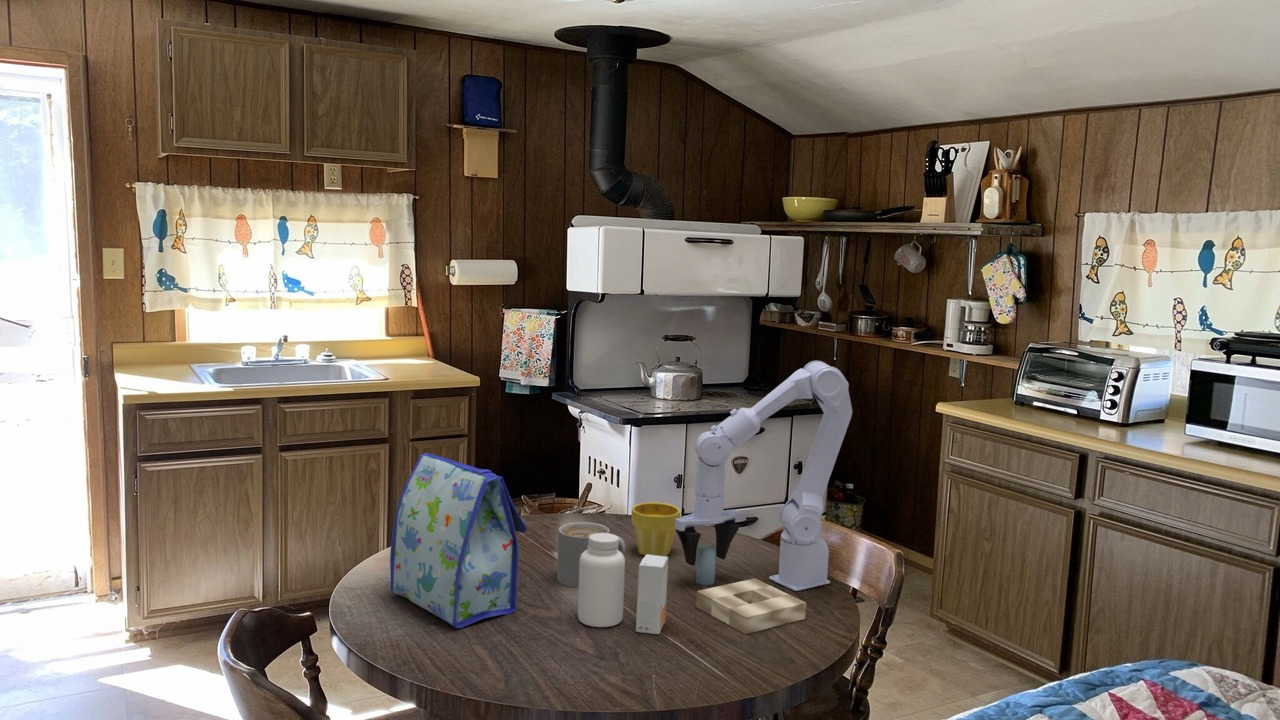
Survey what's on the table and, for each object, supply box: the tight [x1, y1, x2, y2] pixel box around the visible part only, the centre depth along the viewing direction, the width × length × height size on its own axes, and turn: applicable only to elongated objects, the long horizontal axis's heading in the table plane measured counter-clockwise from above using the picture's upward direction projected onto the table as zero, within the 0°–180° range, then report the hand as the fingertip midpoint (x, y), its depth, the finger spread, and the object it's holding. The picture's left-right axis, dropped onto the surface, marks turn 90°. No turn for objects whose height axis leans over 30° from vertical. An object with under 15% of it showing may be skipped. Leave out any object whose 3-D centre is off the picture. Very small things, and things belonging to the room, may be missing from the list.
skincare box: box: [635, 554, 669, 635], centre depth 165 cm, size 6×4×12 cm
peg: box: [695, 544, 717, 586], centre depth 188 cm, size 4×4×7 cm
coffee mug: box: [556, 521, 626, 589], centre depth 187 cm, size 13×10×10 cm
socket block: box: [695, 577, 807, 635], centre depth 174 cm, size 14×14×3 cm
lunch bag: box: [389, 452, 528, 629], centre depth 171 cm, size 22×17×26 cm
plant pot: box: [631, 501, 681, 557], centre depth 204 cm, size 10×10×10 cm
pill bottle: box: [577, 532, 626, 628], centre depth 167 cm, size 8×8×15 cm
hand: (705, 560), depth 188 cm, fingers open, 7 cm apart
